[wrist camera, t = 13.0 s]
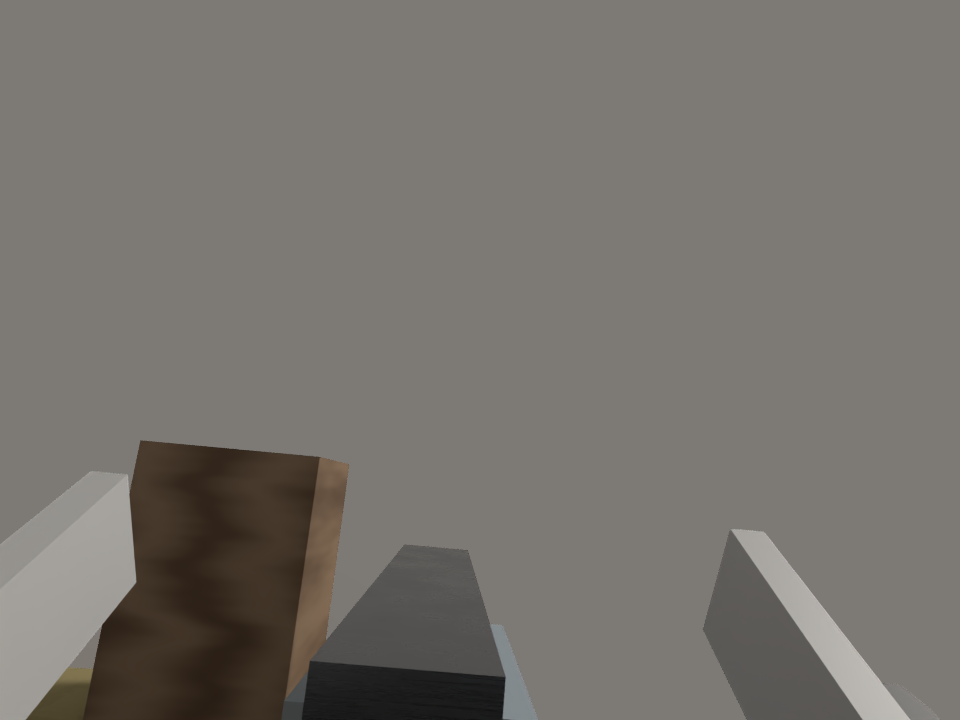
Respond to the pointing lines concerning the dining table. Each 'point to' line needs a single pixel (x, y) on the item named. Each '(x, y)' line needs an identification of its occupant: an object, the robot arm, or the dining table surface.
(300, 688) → the grey-blue block
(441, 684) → the steel bar
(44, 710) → the cheese
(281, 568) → the walnut stand
